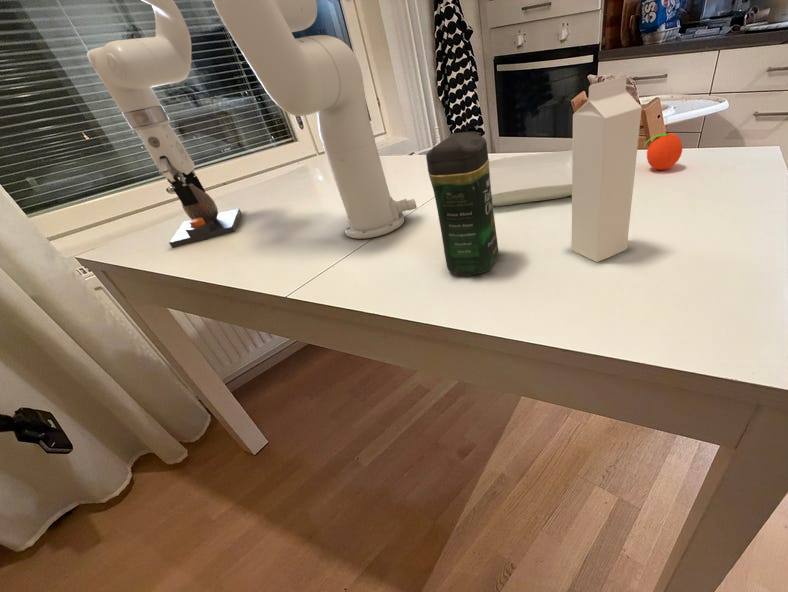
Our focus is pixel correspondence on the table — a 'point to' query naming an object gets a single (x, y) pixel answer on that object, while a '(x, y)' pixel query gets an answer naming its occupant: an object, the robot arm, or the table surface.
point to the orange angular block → (197, 222)
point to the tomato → (664, 151)
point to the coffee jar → (464, 202)
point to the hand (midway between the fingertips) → (195, 199)
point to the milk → (604, 169)
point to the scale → (207, 229)
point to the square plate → (531, 178)
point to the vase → (201, 206)
